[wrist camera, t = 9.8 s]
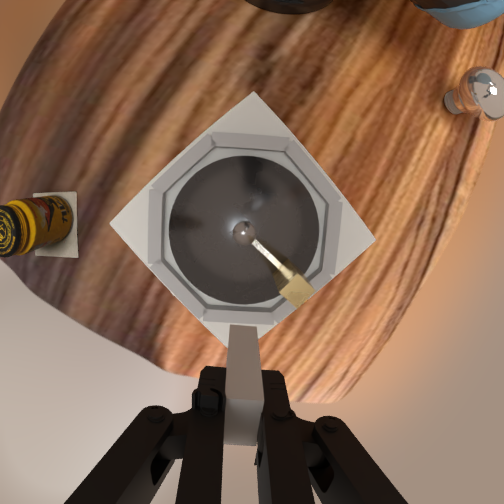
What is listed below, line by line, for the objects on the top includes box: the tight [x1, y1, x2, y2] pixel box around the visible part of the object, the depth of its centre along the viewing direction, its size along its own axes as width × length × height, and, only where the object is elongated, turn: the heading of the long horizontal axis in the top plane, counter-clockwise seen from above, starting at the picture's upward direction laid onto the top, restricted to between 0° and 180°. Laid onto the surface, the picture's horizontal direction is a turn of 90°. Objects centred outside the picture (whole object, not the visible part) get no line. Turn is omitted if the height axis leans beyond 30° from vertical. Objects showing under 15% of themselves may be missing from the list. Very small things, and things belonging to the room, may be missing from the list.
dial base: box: [109, 91, 376, 348], centre depth 35 cm, size 22×22×4 cm
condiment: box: [0, 192, 78, 258], centre depth 30 cm, size 7×8×12 cm
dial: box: [169, 156, 319, 309], centre depth 31 cm, size 16×16×7 cm
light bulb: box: [444, 66, 504, 121], centre depth 28 cm, size 7×7×12 cm
